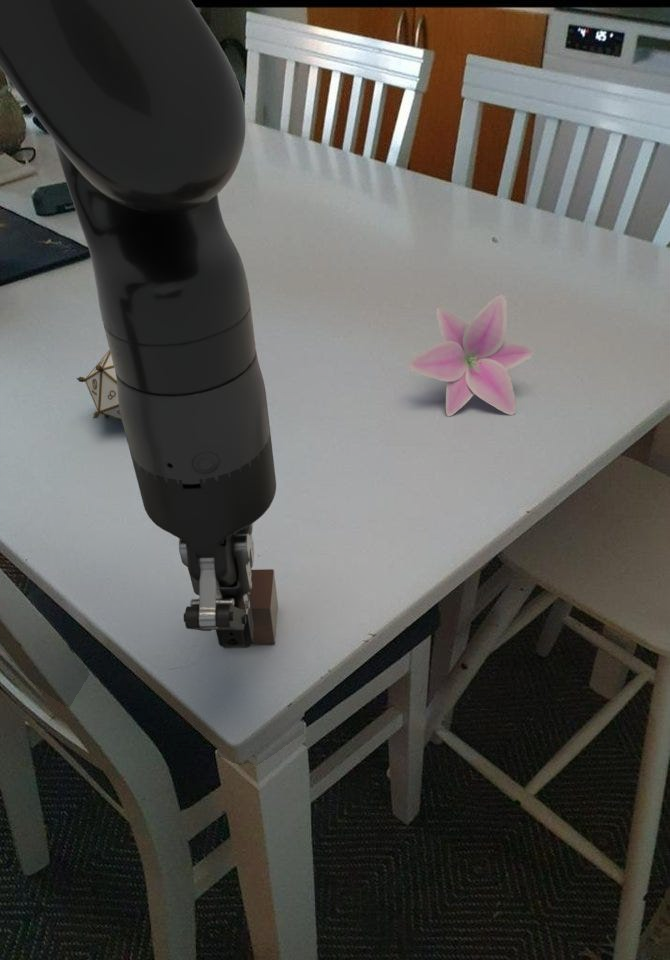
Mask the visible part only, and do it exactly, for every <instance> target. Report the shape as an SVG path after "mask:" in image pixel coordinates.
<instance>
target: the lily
mask: <svg viewBox="0 0 670 960" xmlns="http://www.w3.org/2000/svg"><path fill="white" fill-rule="evenodd" d="M435 311H436V318H437V323H438V328H439V332H440V335H441V339H442V342H439V343H437V344H434V345H433V346H431V347H429V348H427V349H426V350H424V351H422V352H420V353H419V354H417V355H415V356H414V357H412V359H410V360H409V361H408V362H407V363H406V368H407V369H408V370H409V371H412V372H413V373H416V374H419V375H422V376H425V377H428V378H431V379H434V380H438V381H441V382H445V383H446V390H445V414H446V416H447V417H451V416H453V415H454V414H456V413H457V412H458V411H459V410H461V408H463V407H464V406H465V405H466V404H467V403H468V402H469V401H470V400H471V398H472V397H474V395H475V396H477V398H479V399H480V400H482V401H484V402H485V403H487V404H488V405H491V406H492V407H494V408H495V409H497V410H499V411H500V412H502V413H504V414H506V415H509V416H515V414H516V412H517V409H516V408H517V404H516V398H515V392H514V387H513V383H512V379H511V376H510V374H509V372H508V371H509V370H511V369H514V368H515V367H517V366H519V365H521V364H522V363H524V362H526V361H527V360H529V359H530V358H532V357H533V356H534V354H535V351H534V350H533V349H531V347H527V346H525V345H522V344H520V343H515V342H513V341H507V340H505V338H506V334H507V328H508V327H507V326H508V303H507V297H506V296H505V295H504V294H498V295H497V296H495V297H494V298H493V299H491V300H490V301H489V302H488V303H487V304H486V305H485V306H483V308H482V309H480V310H479V312H478V313H476V315H474V316H473V317H472V318H471V320H470V321H469V322H468V323H467V322H466V321H464V320H463V319H462V318H461V317H459V316H458V315H456V314H455V313H453V312H451V311H449V310H448V309H446V308H443V307H436V310H435Z"/></svg>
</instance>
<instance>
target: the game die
mask: <svg viewBox="0 0 670 960" xmlns="http://www.w3.org/2000/svg"><path fill="white" fill-rule="evenodd" d="M76 380H77V381H78V382H79V383H84V382H85V384H86V386H87V387H86V388H87V389H88V391H89V394H90V396H91V398H92V401H93V403H94V406H95V408H96V410H97V411H95V412H94V413H93V416H92V419H97V418H99V417H100V416H101V415H102V416H103V417H104V419H110V418H113V419H115V420H119V421H122V418H121V413H120V408H119V401H118V388H117V378H116V373H115V369H114V365H113V361H112V357H111V353H110V349H109V350H108V351H107V352H106V354H105V355H104V356H103V357H102V358H101V359H100V361H98V363H97V364H96V365H95V366H94V368H93V369H92V370H91V371H90V373H89V374H88V375H87V376H86V377H84V376H79V377H77V378H76Z"/></svg>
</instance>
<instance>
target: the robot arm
mask: <svg viewBox="0 0 670 960" xmlns="http://www.w3.org/2000/svg"><path fill="white" fill-rule="evenodd" d="M0 70H1V71H2V72H3V74H4V75H5V76H6V78H7V79H8V81H9V82H10V83H11V85H12V86H13V87H14V89H15V90H16V92H17V93H18V94H19V96H20V97H21V99H22V100H23V102H25V104H26V105H27V106H28V108H29V109H30V110H31V111H32V113H33V114H34V116H35V117H36V118H37V120H38V121H39V122H40V124H41V125H42V126H43V128H44V129H45V130H46V131H47V133H48V134H49V136H50V137H51V138H52V140H53V144H54V147H55V151H56V153H57V157H58V160H59V164H60V166H61V170H62V173H63V176H64V179H65V182H66V185H67V188H68V191H69V195H70V197H71V201H72V203H73V207H74V210H75V212H76V216H77V219H78V222H79V225H80V228H81V231H82V233H83V236H84V239H85V243H86V245H87V249H88V252H89V255H90V259H91V264H92V269H93V275H94V281H95V286H96V293H97V299H98V306H99V311H100V315H101V321H102V324H103V328H104V333H105V337H106V340H107V344H108V348H109V350H110V353H111V357H112V361H113V365H114V369H115V373H116V378H117V388H118V401H119V408H120V413H121V418H122V420H121V422H122V426H123V431H124V434H125V437H126V442H127V445H128V449H129V453H130V457H131V461H132V464H133V469H134V473H135V477H136V481H137V485H138V490H139V492H140V497H141V500H142V504H143V508H144V511H145V513H146V514H147V516H148V518H149V519H150V520H151V521H152V522H153V523H154V524H155V525H156V526H157V527H159V528H160V529H161V530H163V531H165V532H167V533H169V534H171V535H172V536H174V537H176V538H178V551H179V555H180V561H181V564H183V565H184V566H185V567H187V570H188V574H189V577H190V582H191V587H192V589H193V593H194V594H195V595H197V596H198V598H192V599H191V600H190V602H189V603H190V605H189V606H186V607H185V611H184V613H183V622H184V624H185V628H186V629H187V630H194V631H201V632H212V631H215V632H216V636H217V643H218V645H219V646H220V647H221V648H223V649H246V648H250V647H251V646H253V645H252V639H253V629H254V624H253V618H252V612H251V605H250V599H249V594H250V589H252V581H251V576H252V574H251V570H252V568H253V565H254V559H255V548H254V547H255V546H254V539H253V528H254V523H256V522H257V521H258V520H259V519H260V518H261V517H262V516H263V515H264V514H265V513H266V512H267V511H268V509H269V508H270V507H271V505H272V503H273V502H274V499H275V496H276V491H277V479H276V470H275V469H276V468H275V461H274V453H273V443H272V433H271V426H270V417H269V409H268V401H267V399H268V397H267V391H266V385H265V380H264V377H263V373H262V370H261V366H260V361H259V359H258V353H257V349H256V348H257V347H256V345H257V344H256V339H255V337H256V336H255V328H254V320H253V312H252V304H251V297H250V296H251V295H250V291H249V284H248V278H247V274H246V271H245V267H244V263H243V260H242V257H241V255H240V252H239V249H238V248H237V246H236V245H235V243H234V241H233V239H232V237H231V235H230V233H229V231H228V229H227V227H226V225H225V222H224V219H223V216H222V212H221V208H220V201H219V193H221V191H222V190H223V189H224V188H225V187H226V186H227V184H228V183H229V182H230V180H231V179H232V177H233V176H234V174H235V172H236V170H237V168H238V165H239V163H240V161H241V157H242V153H243V151H244V145H245V138H246V112H245V111H246V110H245V103H244V99H243V94H242V90H241V87H240V84H239V81H238V78H237V75H236V72H235V70H234V68H233V67H232V64H231V63H230V61H229V59H228V56H227V55H226V52H225V51H224V49H223V48H222V46H221V44H220V43H219V42H218V39H217V38H216V36H215V34H214V33H213V32H212V30H211V28H210V27H209V25H208V23H207V22H206V21H205V19H204V18H203V16H202V15H201V14H200V11H199V10H198V9H197V7H196V6H195V5H194V3H193V1H192V0H0Z"/></svg>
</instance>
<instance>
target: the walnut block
mask: <svg viewBox="0 0 670 960" xmlns="http://www.w3.org/2000/svg"><path fill="white" fill-rule="evenodd" d="M251 574H252V576H251V581H252V589H250V594H249V599H250V605H251V612H252V618H253V624H254V629H253V639H252V645H251V646H254V645H255V646H258V645H259V646H260V645H275V644H276V634H277V622H278V621H277V620H278V607H279V604H278V603H279V602H278V595H277V593H278V592H277V586H276V585H277V584H276V577H275V570H274V569H273V568H271V569H269V568H268V569H267V568H265V569H251Z"/></svg>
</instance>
